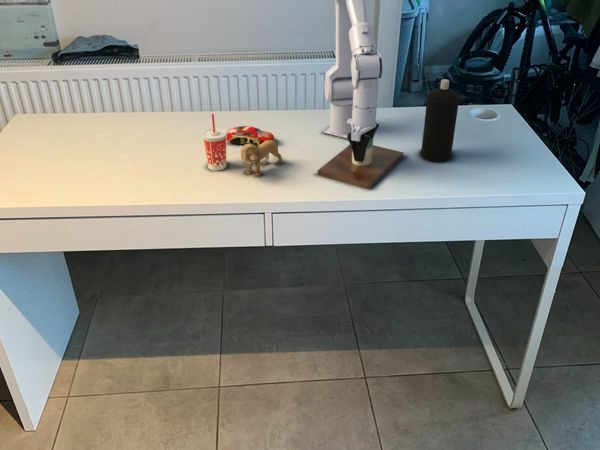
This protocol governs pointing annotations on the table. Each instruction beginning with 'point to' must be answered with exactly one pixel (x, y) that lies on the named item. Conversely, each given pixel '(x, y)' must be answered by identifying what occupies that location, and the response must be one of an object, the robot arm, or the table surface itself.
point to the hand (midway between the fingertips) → (362, 156)
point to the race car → (248, 135)
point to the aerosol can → (440, 123)
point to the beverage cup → (215, 147)
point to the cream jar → (368, 155)
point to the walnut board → (360, 167)
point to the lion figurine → (259, 154)
